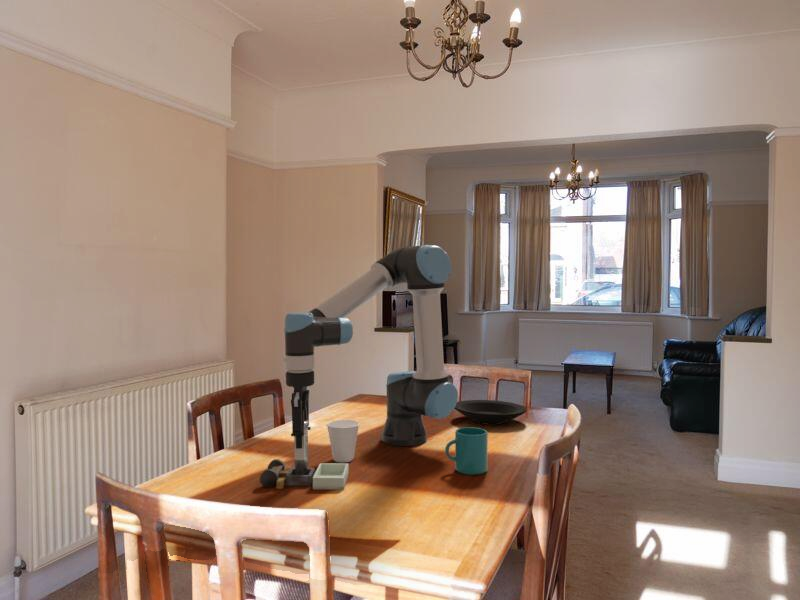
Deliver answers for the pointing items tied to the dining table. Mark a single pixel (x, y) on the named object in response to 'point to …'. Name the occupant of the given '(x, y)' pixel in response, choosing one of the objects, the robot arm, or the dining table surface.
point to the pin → (302, 465)
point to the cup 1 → (343, 439)
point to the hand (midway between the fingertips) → (301, 456)
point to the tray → (331, 476)
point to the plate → (489, 411)
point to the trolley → (277, 471)
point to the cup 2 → (469, 450)
